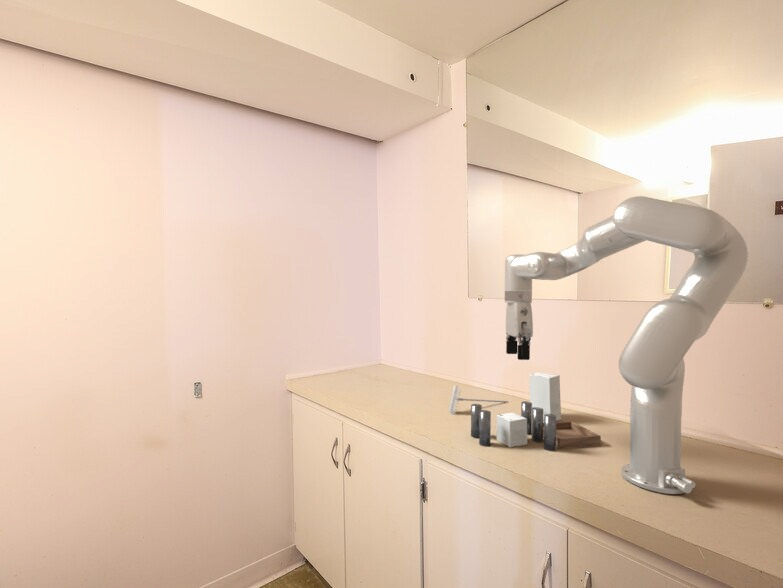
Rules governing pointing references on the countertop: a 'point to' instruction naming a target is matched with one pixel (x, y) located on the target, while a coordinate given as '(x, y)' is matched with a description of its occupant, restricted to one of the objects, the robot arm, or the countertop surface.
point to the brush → (462, 400)
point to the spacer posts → (533, 415)
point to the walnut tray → (574, 435)
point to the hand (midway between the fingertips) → (517, 356)
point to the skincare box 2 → (545, 393)
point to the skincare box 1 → (512, 429)
